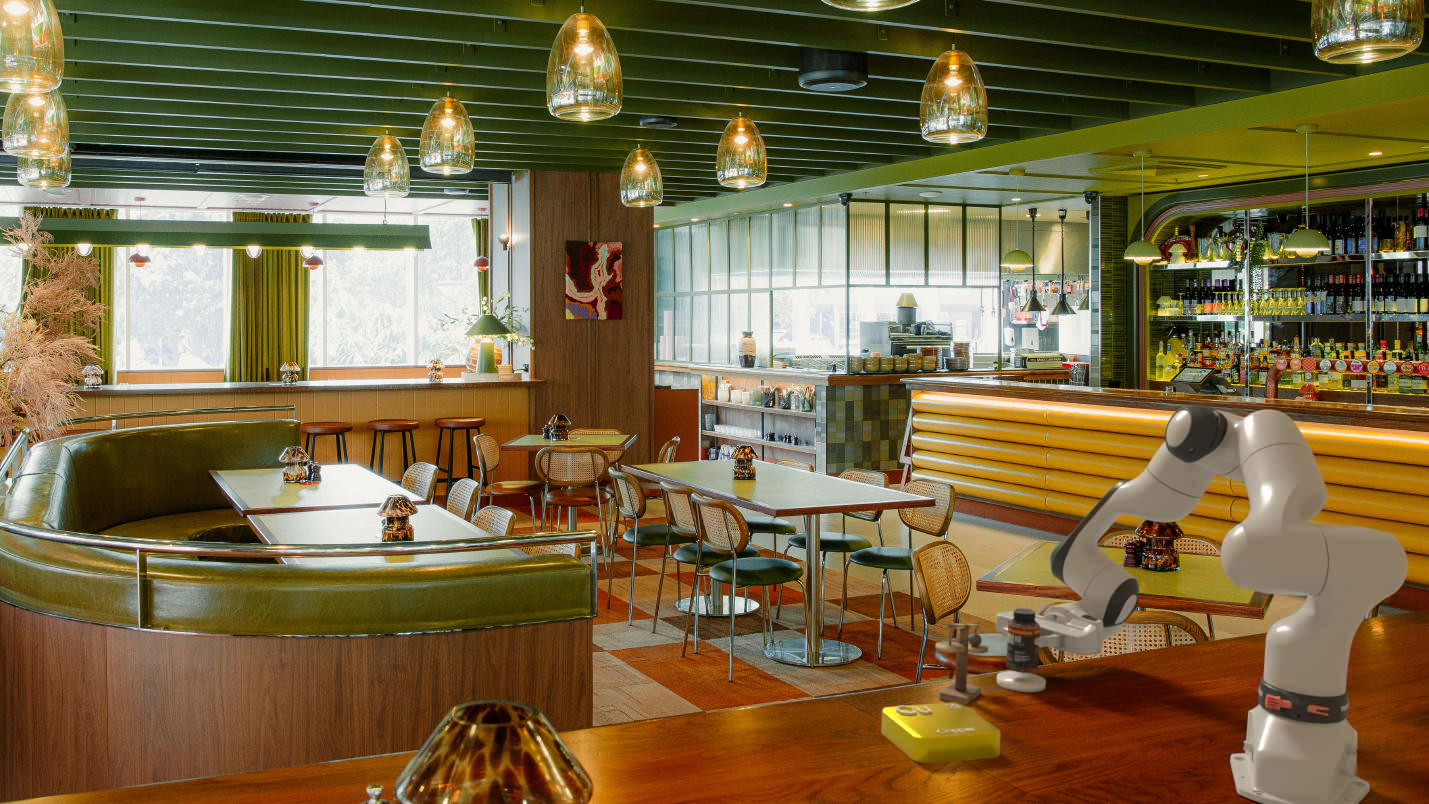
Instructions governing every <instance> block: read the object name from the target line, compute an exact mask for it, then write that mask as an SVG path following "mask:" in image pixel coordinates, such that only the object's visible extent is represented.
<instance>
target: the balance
mask: <svg viewBox="0 0 1429 804" xmlns="http://www.w3.org/2000/svg"><path fill="white" fill-rule="evenodd" d="M947 629H949V635H948V641H938V642H935V647H934V648H935V649H936V650H937V651H940V652H941V653H942V652H943V653H947V654H956V662H955V663H956V664H955V681H954V682H953V683H951V684H950V685H948V686H947V687H946V688H944V689H943V690H941V692H939V698H938V699H939V700H941V701H946V702H949V703H951V702H956V703H960V704H962V705H964V706H967V705H969V703H971V702H972V701H973V700H975V699H976V698H977V697H978V696H980V695H981V693H982V687H981V686H977V685H973V684H972V685H971V684H969V683H967V681H968V680H967V679H968V661H969V658H968V657H969V653H972V654H985V653H988V652H989V646H988V645H986V644H984V643H982V640H983V639H982V637H981V635H980V634H979V633H978V632H977V630H979V629H980V625H979V624H975V623H947ZM953 630H957V636H956V637H957V638H956V639H957V640H956V642H955V641H952V637H953V636H952V633H953ZM970 630H973V631H974V633H971V634H970Z"/></svg>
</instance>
